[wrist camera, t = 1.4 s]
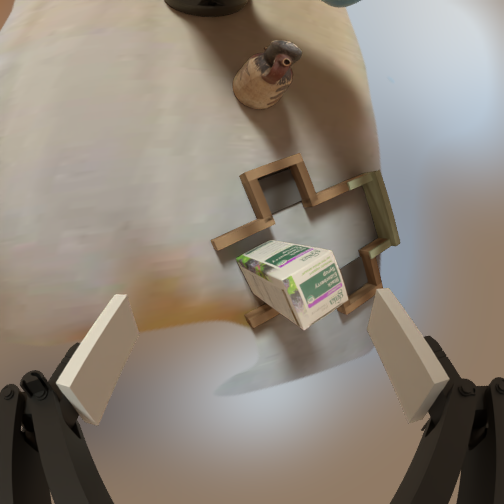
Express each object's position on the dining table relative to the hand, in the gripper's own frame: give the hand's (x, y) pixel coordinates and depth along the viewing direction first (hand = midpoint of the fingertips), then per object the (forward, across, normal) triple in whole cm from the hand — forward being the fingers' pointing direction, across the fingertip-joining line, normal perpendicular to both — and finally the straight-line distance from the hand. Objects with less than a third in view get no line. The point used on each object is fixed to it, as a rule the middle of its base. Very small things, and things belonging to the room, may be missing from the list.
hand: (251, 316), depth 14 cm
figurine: (+30, +1, +16) cm, 34 cm away
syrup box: (+22, +1, -9) cm, 24 cm away
